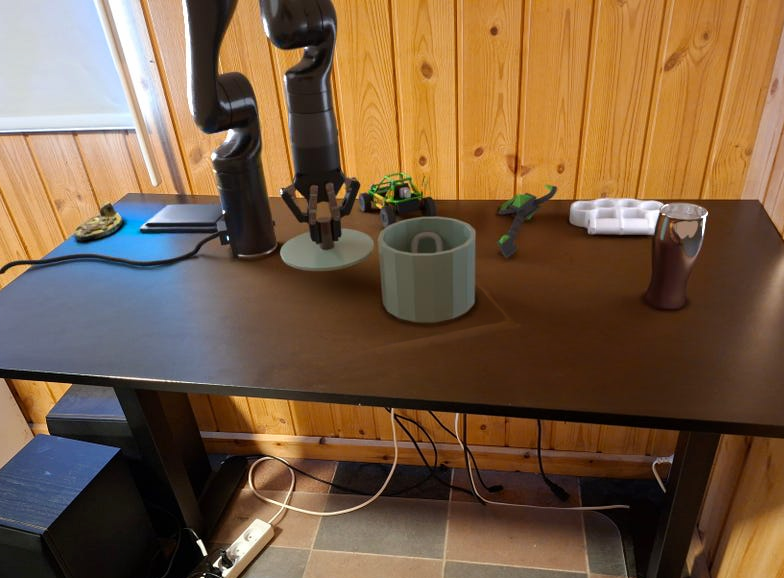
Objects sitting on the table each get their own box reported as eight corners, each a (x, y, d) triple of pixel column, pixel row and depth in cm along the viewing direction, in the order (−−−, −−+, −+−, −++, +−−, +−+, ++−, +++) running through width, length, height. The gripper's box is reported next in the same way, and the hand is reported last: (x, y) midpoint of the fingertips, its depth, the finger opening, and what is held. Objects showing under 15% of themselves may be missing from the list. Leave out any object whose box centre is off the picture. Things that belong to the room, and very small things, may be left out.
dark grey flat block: (135, 224, 141) (166, 200, 153) (137, 232, 142) (168, 207, 154) (218, 224, 137) (244, 199, 149) (220, 233, 138) (245, 207, 150)
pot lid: (288, 281, 102) (282, 246, 98) (275, 242, 115) (270, 210, 111) (384, 264, 105) (382, 229, 101) (362, 228, 118) (359, 196, 114)
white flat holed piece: (571, 238, 123) (567, 211, 135) (670, 239, 119) (657, 210, 131) (573, 222, 121) (569, 195, 133) (673, 222, 117) (660, 195, 129)
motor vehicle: (404, 198, 148) (402, 153, 142) (442, 225, 133) (441, 175, 127) (358, 208, 145) (354, 162, 139) (392, 237, 129) (388, 186, 124)
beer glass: (687, 292, 102) (707, 203, 94) (689, 313, 97) (711, 220, 89) (641, 288, 105) (657, 200, 96) (641, 308, 99) (657, 217, 91)
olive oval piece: (105, 246, 139) (133, 219, 151) (100, 226, 136) (129, 200, 149) (64, 243, 140) (95, 216, 152) (58, 223, 137) (91, 197, 149)
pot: (398, 332, 98) (393, 262, 92) (374, 290, 111) (368, 225, 104) (489, 314, 101) (490, 244, 94) (455, 274, 113) (455, 210, 107)
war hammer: (530, 227, 111) (555, 166, 133) (466, 248, 118) (500, 187, 140) (542, 256, 114) (565, 192, 136) (478, 275, 121) (510, 211, 143)
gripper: (352, 127, 103) (360, 226, 113) (267, 138, 100) (283, 239, 110) (363, 138, 97) (371, 243, 107) (272, 151, 94) (289, 256, 104)
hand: (326, 240), depth 108 cm, fingers closed on pot lid, 2 cm apart
